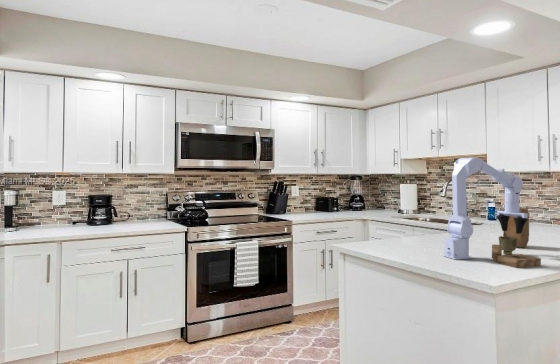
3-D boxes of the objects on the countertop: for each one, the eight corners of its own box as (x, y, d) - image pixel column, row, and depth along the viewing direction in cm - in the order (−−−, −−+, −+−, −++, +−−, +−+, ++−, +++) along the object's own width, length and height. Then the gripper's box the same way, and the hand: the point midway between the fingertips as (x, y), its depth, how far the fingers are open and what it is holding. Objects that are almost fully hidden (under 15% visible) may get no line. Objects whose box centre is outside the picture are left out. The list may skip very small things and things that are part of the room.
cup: (499, 252, 177) (500, 235, 177) (518, 254, 172) (518, 236, 172) (496, 254, 171) (497, 237, 171) (515, 256, 167) (516, 238, 166)
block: (530, 247, 188) (531, 207, 188) (520, 249, 185) (521, 208, 185) (509, 244, 198) (510, 206, 198) (500, 245, 195) (500, 206, 194)
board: (516, 267, 146) (516, 260, 146) (497, 262, 155) (497, 255, 155) (540, 266, 150) (540, 258, 149) (520, 261, 158) (521, 254, 158)
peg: (496, 261, 157) (496, 246, 157) (489, 259, 161) (489, 244, 161) (503, 261, 158) (504, 245, 158) (496, 259, 162) (496, 244, 161)
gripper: (533, 203, 166) (532, 234, 166) (505, 201, 180) (505, 229, 180) (520, 203, 164) (519, 234, 164) (493, 201, 178) (493, 230, 178)
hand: (511, 232), depth 172 cm, fingers open, 7 cm apart
